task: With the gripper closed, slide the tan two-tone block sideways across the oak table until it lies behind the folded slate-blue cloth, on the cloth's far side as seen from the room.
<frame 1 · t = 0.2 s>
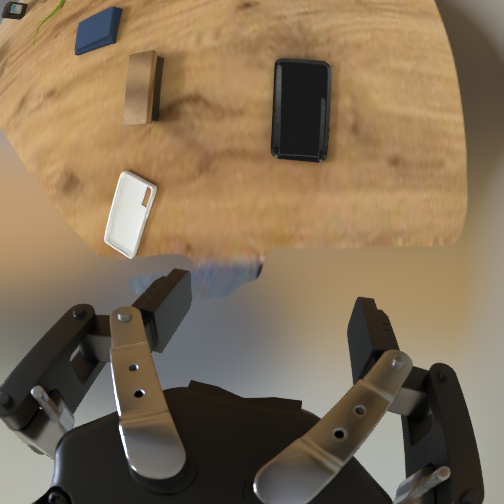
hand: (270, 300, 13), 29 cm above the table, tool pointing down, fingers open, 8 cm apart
phone case: (130, 214, 46), on the table
ink cartridge: (24, 11, 27), on the table
phone: (301, 109, 34), on the table
tan two-tone block: (150, 90, 36), on the table
folded cloth: (99, 32, 32), on the table
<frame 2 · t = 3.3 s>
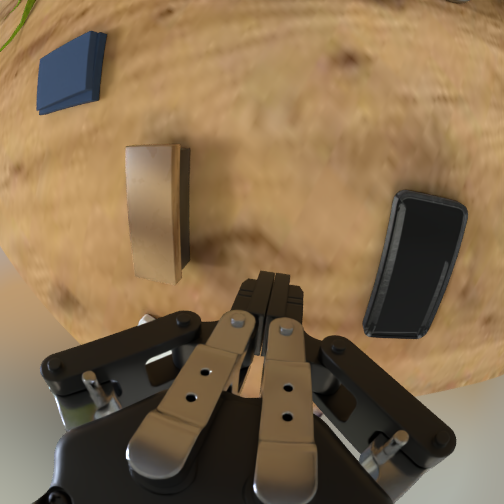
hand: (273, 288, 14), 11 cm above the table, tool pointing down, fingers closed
phone: (414, 270, 23), on the table
tan two-tone block: (170, 205, 25), on the table
folded cloth: (72, 75, 20), on the table
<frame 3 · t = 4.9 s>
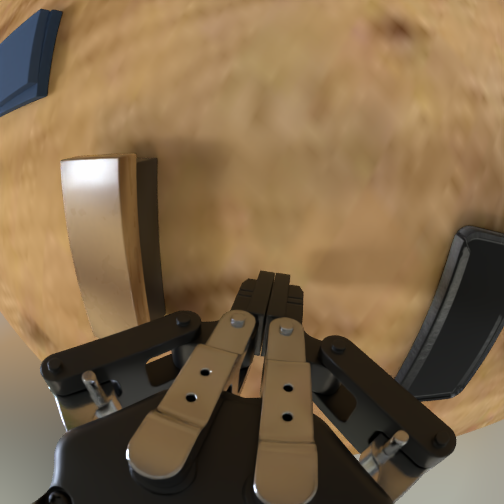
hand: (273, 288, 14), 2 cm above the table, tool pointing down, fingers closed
phone: (461, 325, 15), on the table
tan two-tone block: (134, 240, 17), on the table
folded cloth: (23, 68, 13), on the table
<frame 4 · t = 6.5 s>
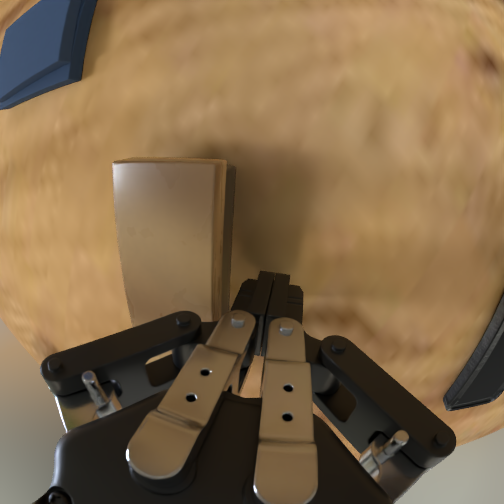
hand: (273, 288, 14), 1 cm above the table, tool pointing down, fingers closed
tan two-tone block: (196, 263, 15), on the table, touching gripper
folded cloth: (45, 48, 11), on the table
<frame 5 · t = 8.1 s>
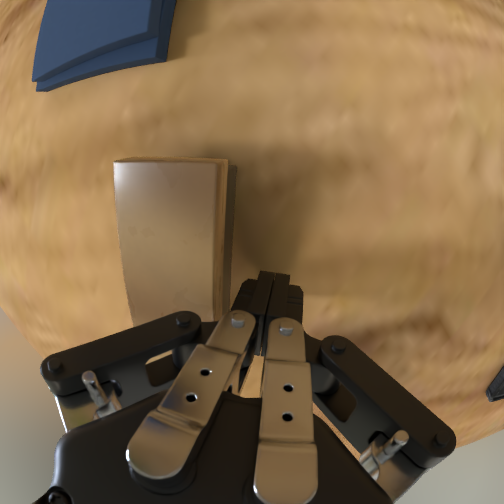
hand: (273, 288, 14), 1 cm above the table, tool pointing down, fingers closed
tan two-tone block: (196, 262, 15), on the table, touching gripper
folded cloth: (104, 21, 10), on the table
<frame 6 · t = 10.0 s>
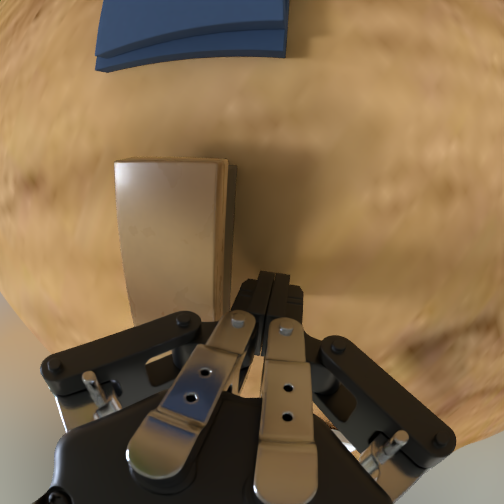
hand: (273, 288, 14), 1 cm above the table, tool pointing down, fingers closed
tan two-tone block: (197, 262, 15), on the table, touching gripper
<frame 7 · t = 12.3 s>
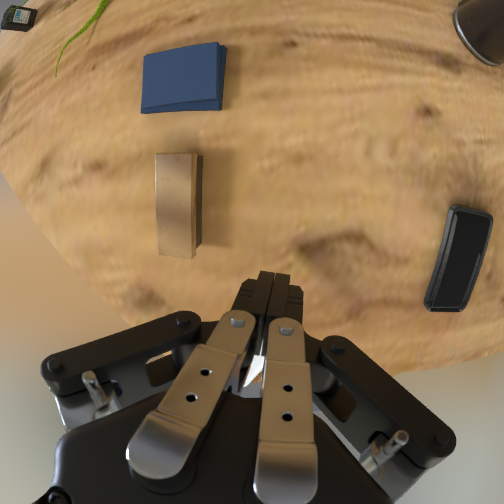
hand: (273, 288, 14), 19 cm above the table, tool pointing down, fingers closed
phone case: (247, 348, 40), on the table
ink cartridge: (32, 20, 22), on the table
phone: (458, 260, 29), on the table
tan two-tone block: (186, 199, 33), on the table
folded cloth: (183, 80, 27), on the table
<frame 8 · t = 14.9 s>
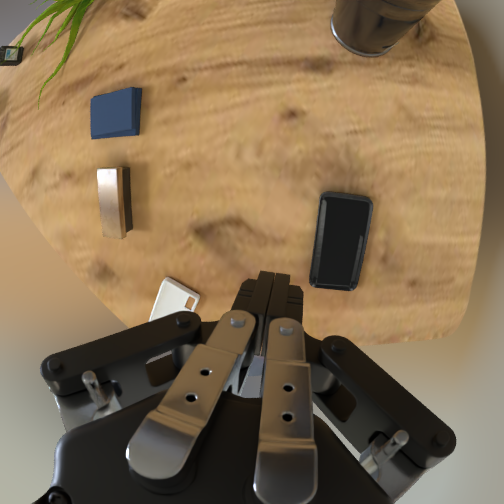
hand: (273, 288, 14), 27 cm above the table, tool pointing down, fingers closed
phone case: (172, 311, 52), on the table
ink cartridge: (21, 56, 33), on the table
decorative plant: (76, 34, 31), on the table
phone: (340, 242, 40), on the table
tan two-tone block: (122, 198, 43), on the table
folded cloth: (116, 114, 37), on the table
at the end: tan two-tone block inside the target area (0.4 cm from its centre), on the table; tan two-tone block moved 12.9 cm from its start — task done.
